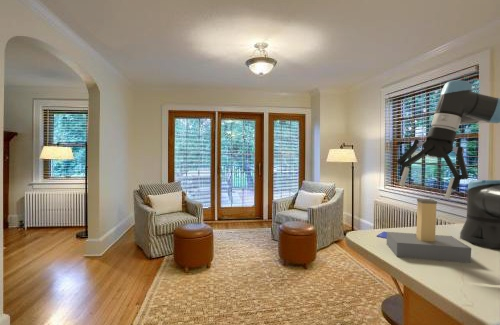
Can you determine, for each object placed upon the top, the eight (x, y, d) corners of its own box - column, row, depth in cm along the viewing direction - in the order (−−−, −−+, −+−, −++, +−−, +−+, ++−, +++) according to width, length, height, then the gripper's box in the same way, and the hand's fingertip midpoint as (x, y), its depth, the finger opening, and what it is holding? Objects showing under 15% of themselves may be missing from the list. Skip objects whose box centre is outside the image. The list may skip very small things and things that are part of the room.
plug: (429, 244, 92) (431, 199, 92) (435, 248, 88) (437, 201, 87) (415, 243, 93) (417, 198, 92) (420, 247, 89) (422, 200, 88)
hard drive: (376, 235, 108) (412, 243, 99) (383, 231, 113) (418, 238, 105) (376, 239, 108) (412, 247, 99) (383, 234, 113) (418, 242, 105)
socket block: (450, 250, 94) (451, 235, 94) (470, 264, 83) (471, 247, 82) (386, 245, 99) (386, 231, 98) (396, 258, 87) (397, 242, 87)
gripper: (399, 121, 98) (381, 179, 99) (490, 132, 79) (466, 203, 81) (406, 126, 103) (389, 182, 104) (493, 138, 85) (471, 205, 86)
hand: (422, 191), depth 92 cm, fingers open, 13 cm apart
